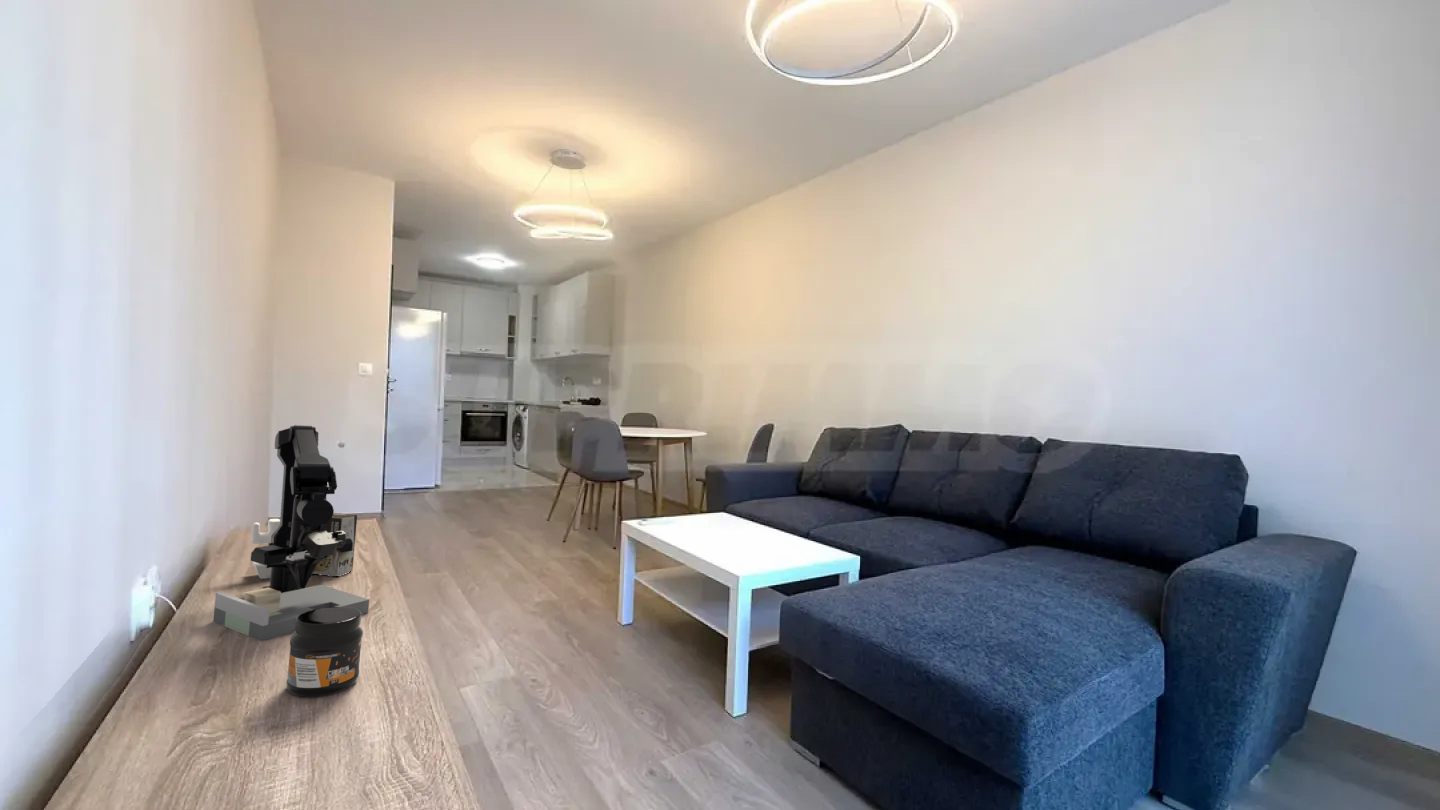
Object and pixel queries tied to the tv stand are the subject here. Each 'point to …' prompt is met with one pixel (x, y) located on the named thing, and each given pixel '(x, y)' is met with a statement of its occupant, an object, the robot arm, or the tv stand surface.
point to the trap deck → (280, 610)
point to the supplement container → (324, 651)
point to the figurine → (263, 538)
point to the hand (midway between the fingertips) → (301, 588)
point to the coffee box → (338, 561)
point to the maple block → (264, 598)
